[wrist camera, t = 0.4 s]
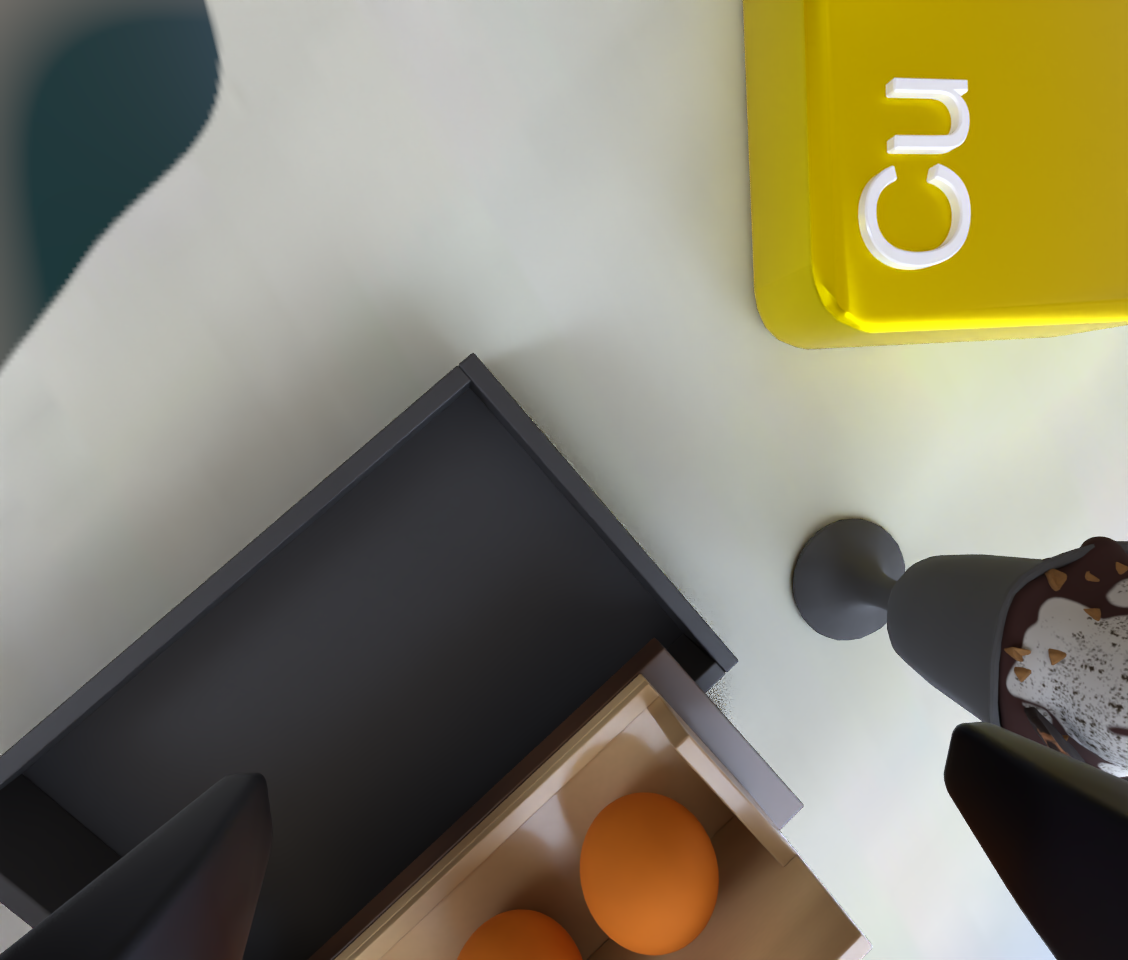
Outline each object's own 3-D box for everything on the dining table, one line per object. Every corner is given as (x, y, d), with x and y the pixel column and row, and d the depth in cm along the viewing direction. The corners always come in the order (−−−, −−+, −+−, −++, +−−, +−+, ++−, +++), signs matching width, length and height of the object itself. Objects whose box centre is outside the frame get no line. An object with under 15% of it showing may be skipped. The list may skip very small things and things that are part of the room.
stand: (399, 1038, 23) (382, 1223, 18) (264, 921, 22) (200, 1080, 17) (728, 724, 24) (804, 806, 19) (616, 597, 23) (664, 647, 18)
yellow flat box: (1086, 336, 26) (1225, 315, 21) (751, 353, 24) (825, 332, 19) (1088, -45, 25) (1237, -159, 20) (734, -70, 22) (809, -205, 18)
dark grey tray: (293, 1009, 22) (263, 1113, 19) (3, 765, 20) (-90, 833, 17) (699, 628, 24) (739, 661, 21) (470, 364, 22) (473, 351, 18)
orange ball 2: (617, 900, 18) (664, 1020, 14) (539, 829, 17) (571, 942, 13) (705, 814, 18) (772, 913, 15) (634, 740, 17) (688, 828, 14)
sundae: (923, 491, 25) (1580, 573, 10) (920, 652, 26) (1541, 946, 11) (772, 498, 24) (1267, 600, 9) (772, 666, 25) (1240, 1013, 10)
